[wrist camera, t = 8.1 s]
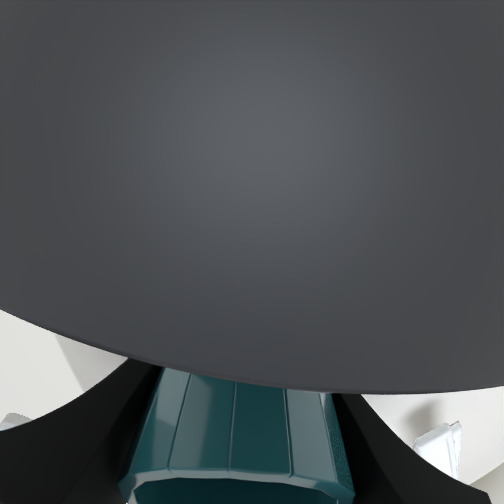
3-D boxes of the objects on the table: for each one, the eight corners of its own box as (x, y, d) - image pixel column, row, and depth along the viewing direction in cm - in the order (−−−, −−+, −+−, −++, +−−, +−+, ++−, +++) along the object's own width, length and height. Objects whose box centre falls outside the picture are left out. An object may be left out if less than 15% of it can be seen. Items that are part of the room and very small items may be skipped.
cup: (198, 398, 12) (172, 535, 6) (158, 297, 11) (72, 453, 4) (318, 383, 12) (347, 528, 5) (306, 273, 10) (364, 449, 4)
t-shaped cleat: (457, 383, 14) (495, 443, 9) (455, 474, 20) (469, 508, 15) (403, 415, 15) (431, 482, 10) (424, 490, 21) (435, 526, 15)
